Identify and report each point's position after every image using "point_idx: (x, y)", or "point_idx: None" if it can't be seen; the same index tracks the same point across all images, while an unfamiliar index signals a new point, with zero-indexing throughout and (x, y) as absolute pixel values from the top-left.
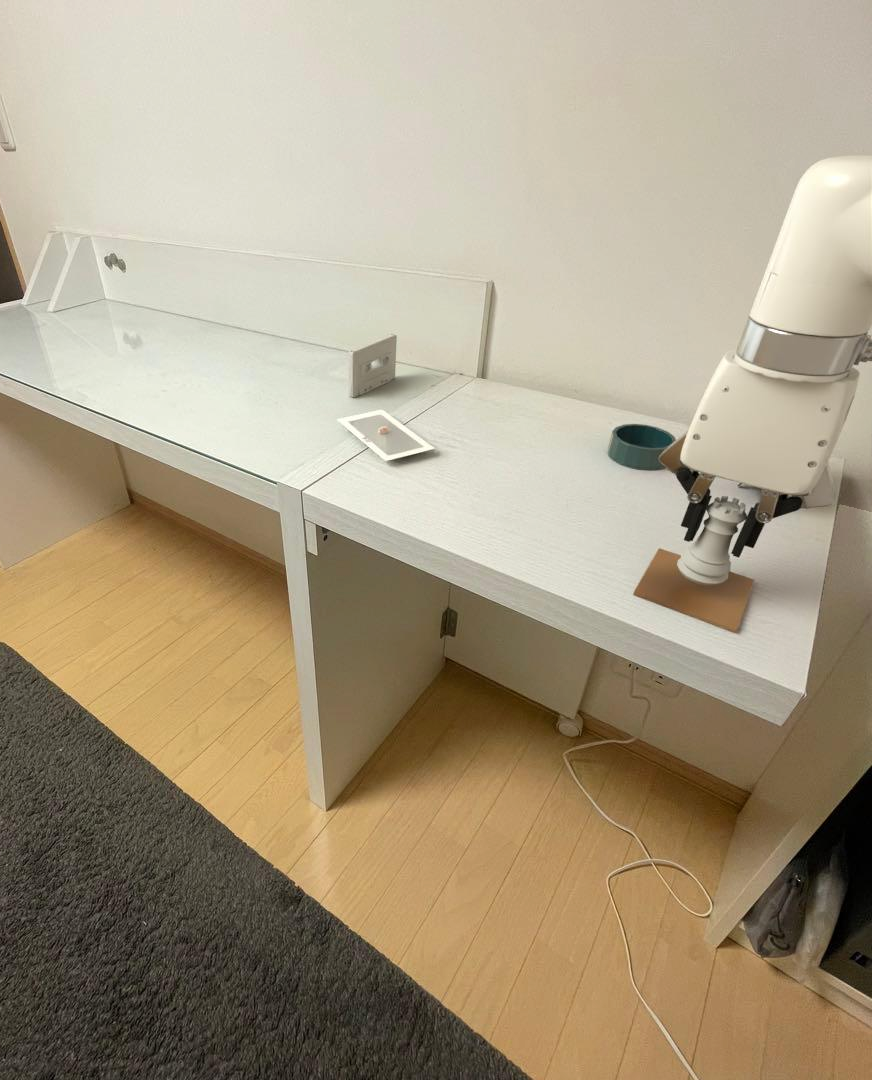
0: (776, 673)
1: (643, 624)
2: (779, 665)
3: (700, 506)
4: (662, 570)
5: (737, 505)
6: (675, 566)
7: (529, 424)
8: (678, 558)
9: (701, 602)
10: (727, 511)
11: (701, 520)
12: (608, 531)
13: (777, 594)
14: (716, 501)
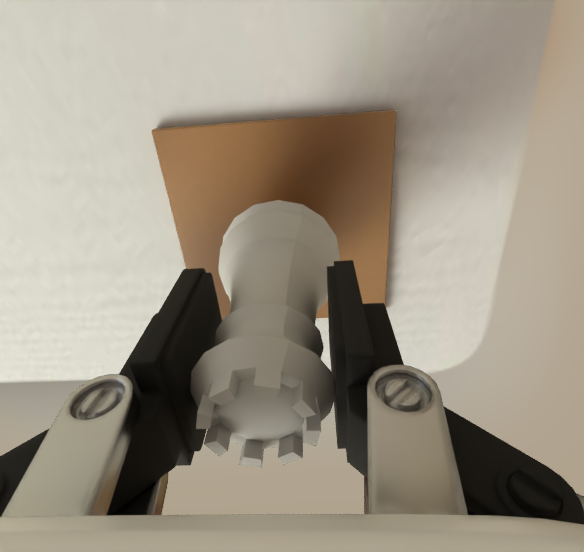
0: (450, 357)
1: None
2: (454, 340)
3: (181, 464)
4: (206, 225)
5: (283, 380)
6: (220, 189)
7: None
8: (210, 146)
9: None
10: (267, 441)
11: (206, 333)
12: (12, 120)
13: (453, 122)
14: (210, 441)
